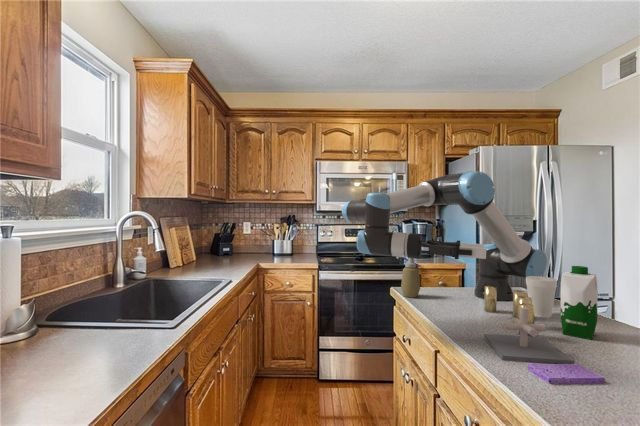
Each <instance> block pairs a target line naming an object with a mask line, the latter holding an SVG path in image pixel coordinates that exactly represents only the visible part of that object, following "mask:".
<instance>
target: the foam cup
mask: <svg viewBox="0 0 640 426" xmlns="http://www.w3.org/2000/svg"><path fill="white" fill-rule="evenodd" d="M525 285H526V292H527V297H530V298H532V305H534V306H535V307H534V317H538V318H539V317H540V318H551V317H552V314H553V308H554V303H555V296H556V292H557V291H556V290H557V287H558V280H557V279H556V278H553V277H548V276H541V277H540V276H528V277H526V278H525Z"/></svg>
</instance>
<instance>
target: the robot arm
mask: <svg viewBox="0 0 640 426" xmlns="http://www.w3.org/2000/svg"><path fill="white" fill-rule="evenodd" d="M495 192H496V188H495V184H494V181H493V179H492V178H491V177H490V176H489V175H488V174H487V173H485V172H484V171H473V170H470V171H466V172H460V173H452V174H449V173H448V174H444V175H441V176H438V177H435V178H432V179H429V180H426V181H422V182H420V183H419V184H418V185H416V186H413V187H409V188H408V187H407V188H403V189H399V190H396V191H390V192H387V193H383V192H369V193H367V195H366V197H365V198H362V199H358V200H357V199H356V200H353V199H352V200H350V201H346V202H345V203H344V204H343V206H342V208H341V215H342V218H343V219H344V220H345V221H346V222H350V223H364V225H365V226H364V229H360V230H359V231H358V233H357V235H356V236H357V237H356V249H357V251H358V252H359V253H360V254H364V255H371V256H382V257H384V256H385V257H395V258H396V259H397V260H399V259H400V258H406V257H407V258H408V259H409V258H413V259H416V260H417V259H418V260H419V259H420V258H422V254H426V255H436V256H437V255H438V256H443V257H452V258H454V260H459V259H460V258H469V259H471V258H472V259H478V279H477V282H476V286H475V288H474V296H475V297H478V298H481V299H484V300H485V286H495V287H497V301H500V302H501V301H502V302H503V301H505V302H506V301H513V291H514V290H513V289H512V285H511V283H510V276H511V277H517V278H522V279H526V277H528V276H540V277H543V275H544V273H545V271H546V268H547V263H548V261H547V256H546V253H545V252H544V251H543V250H542V249H539V248H538V249H535V248H533V246H532V245H531V244H530V242H529V241H527V240H525V239H521V238H520V236H519V235H518V233H517V232H516V231H515V229H514V228H513V227H512V225H511V223H510V222H509V221H508V219H506V217H505V215H504V214H503V213H502V212H501V211H500V209H499V207H498V206H497V205H496V204H495V202H494V199H495ZM436 205H439V206H442V205H443V206H445V205H446V206H459V207H460V209H461V210H462V211H463V212H464V213H465V214H466V215H469V216H470V215H471V216H473V218H474V219H475V220H476V222H477V223H478V224H479V226H480V227H481V228H482V230H483V232H485V233H486V235H487V236H488V237H489V239H490V240H491V241H492V242H493V243H488V244H486V243H485V244H484V243H483V244H482V243H469V242H461V240H456V241H455V242H454V241H450V242H449V241H441V240H433V239H427V241H423V236H422V234H421V233H415V232H414V233H413V232H410V233H408V232H399V231H397V232H396V231H390V219H391V218H390V217H391V214H393V213H399V212H401V211H405V210H410V209H413V208H416V207H420V206H424V207H430V206H436Z"/></svg>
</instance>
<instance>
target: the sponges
mask: <svg viewBox="0 0 640 426" xmlns="http://www.w3.org/2000/svg"><path fill="white" fill-rule="evenodd" d="M527 371H530V372H531V373H532V374H533V375H535V376H536V377H538V378H539V377H540V379H541V380H542V379H543V381H544V382H545V381H546V382H545V383H547V382H548V383H562V384H568V383H569V384H603V383H604V382H605V381H606V379H605V377H604V376H603V375H600V374H599V373H597V372H594V371H592V370H590V369H588V368H586V366H583V365H582V364H580V363H574V364H555V363H536V362H529V363H527ZM548 383H547V384H548Z"/></svg>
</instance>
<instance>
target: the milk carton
mask: <svg viewBox="0 0 640 426" xmlns="http://www.w3.org/2000/svg"><path fill="white" fill-rule="evenodd" d="M560 278H561V279H560V322H561V330H562V331H561V332H562V335H565V336H570V337H576V338H579V339H585V340H590V341H592V340H593V338H594V335H595V333H596V327H597V323H598V294H599V293H598V279H597V274H593V273H589V267H587V266H583V265H572V266H571V271H565V272H563V273H562V274H561V277H560Z"/></svg>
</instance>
